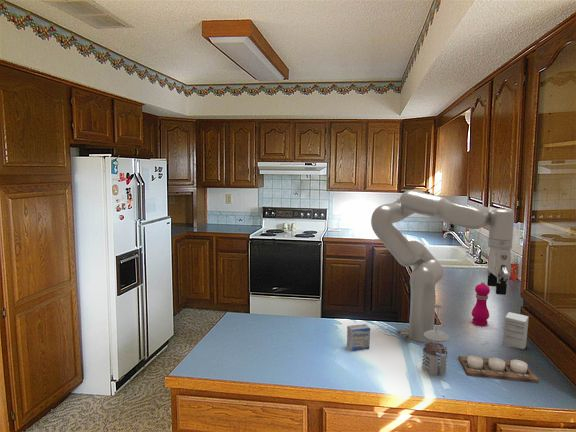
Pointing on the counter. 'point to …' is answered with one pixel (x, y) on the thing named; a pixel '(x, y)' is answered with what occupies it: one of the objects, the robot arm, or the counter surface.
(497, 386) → the counter surface
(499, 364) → the button
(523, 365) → the button
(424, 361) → the french press
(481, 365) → the three-pip button
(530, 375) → the button panel
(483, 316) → the pepper mill
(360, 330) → the medicine box
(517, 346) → the supplement box
